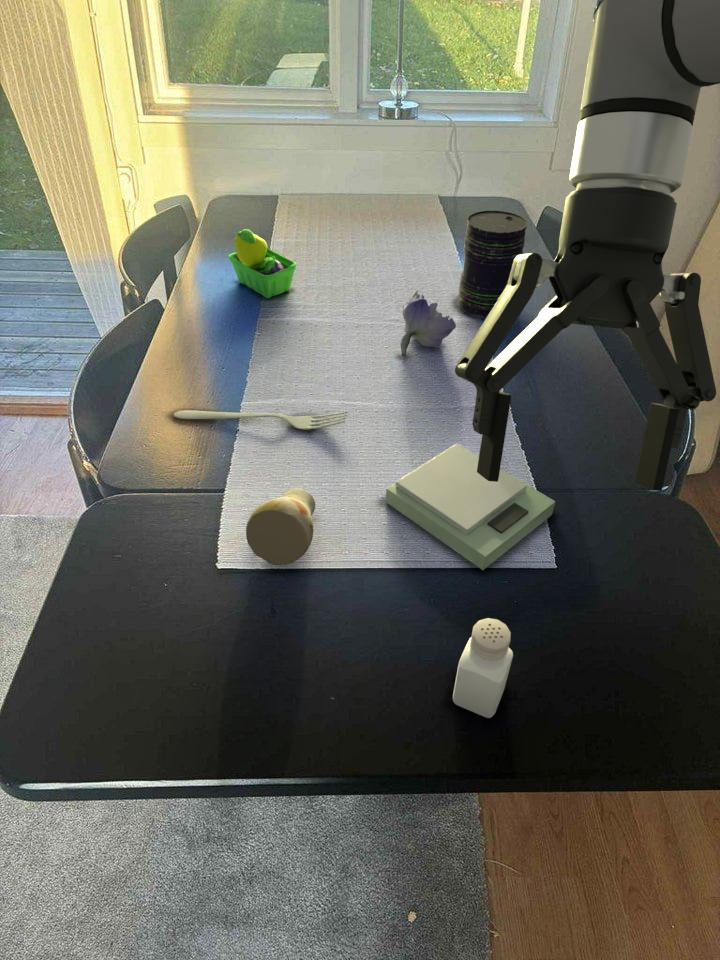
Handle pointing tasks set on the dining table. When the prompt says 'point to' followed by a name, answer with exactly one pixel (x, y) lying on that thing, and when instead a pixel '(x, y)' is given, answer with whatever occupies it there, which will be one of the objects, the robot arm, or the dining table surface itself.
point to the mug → (282, 527)
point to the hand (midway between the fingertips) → (569, 482)
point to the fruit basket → (261, 265)
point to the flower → (424, 323)
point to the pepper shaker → (484, 668)
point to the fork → (295, 421)
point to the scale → (469, 505)
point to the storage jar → (489, 259)
